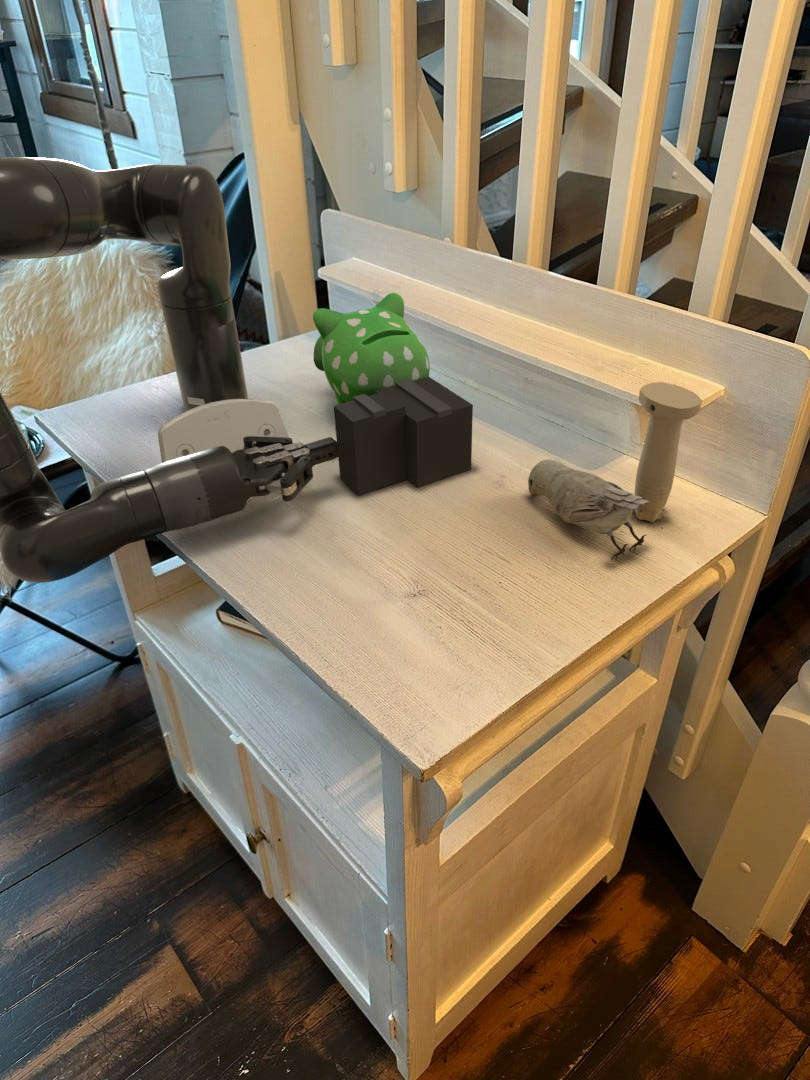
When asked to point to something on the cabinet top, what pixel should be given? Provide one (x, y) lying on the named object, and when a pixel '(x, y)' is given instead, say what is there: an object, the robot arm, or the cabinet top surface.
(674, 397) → the handle
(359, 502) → the cabinet top surface
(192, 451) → the white wall mount bracket
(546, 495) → the decorative bird
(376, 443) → the black box
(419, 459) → the black taped box
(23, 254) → the robot arm
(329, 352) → the piggy bank
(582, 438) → the cabinet top surface
